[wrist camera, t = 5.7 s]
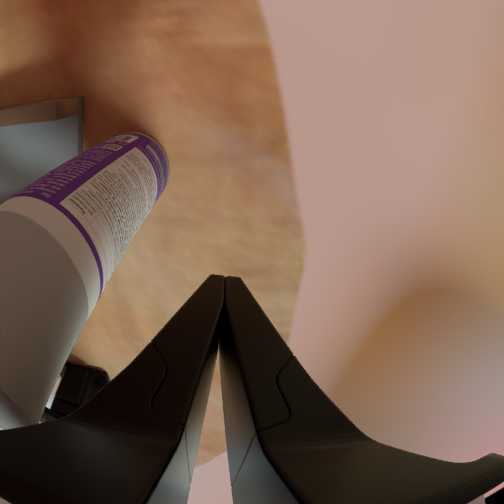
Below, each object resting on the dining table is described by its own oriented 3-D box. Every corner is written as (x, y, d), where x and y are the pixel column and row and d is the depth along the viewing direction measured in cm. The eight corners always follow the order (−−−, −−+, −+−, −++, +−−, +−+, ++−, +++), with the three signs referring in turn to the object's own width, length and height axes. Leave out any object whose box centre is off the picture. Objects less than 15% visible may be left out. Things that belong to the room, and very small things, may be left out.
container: (89, 187, 17) (-72, 375, 4) (113, 119, 15) (-122, 262, 2) (152, 217, 18) (46, 455, 5) (183, 150, 16) (28, 391, 3)
